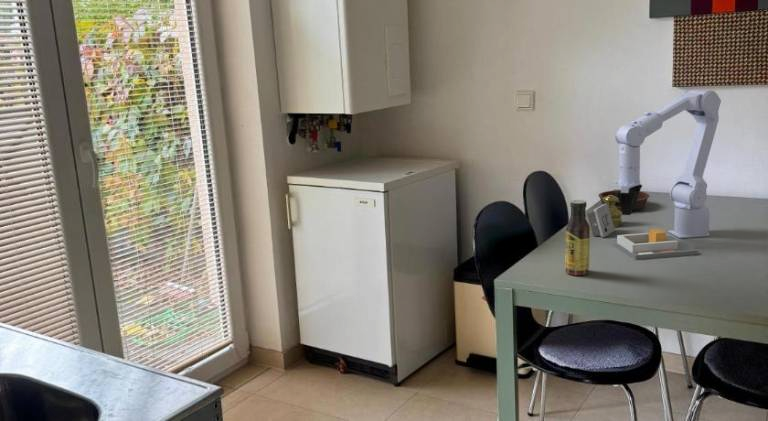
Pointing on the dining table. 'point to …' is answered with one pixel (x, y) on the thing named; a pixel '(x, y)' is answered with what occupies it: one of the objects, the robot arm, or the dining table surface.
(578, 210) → the sauce bottle
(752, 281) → the dining table surface
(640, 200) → the dish
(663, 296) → the dining table surface
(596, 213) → the electrical switch
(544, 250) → the dining table surface
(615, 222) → the salt shaker
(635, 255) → the grey tray
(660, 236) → the block
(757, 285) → the dining table surface
